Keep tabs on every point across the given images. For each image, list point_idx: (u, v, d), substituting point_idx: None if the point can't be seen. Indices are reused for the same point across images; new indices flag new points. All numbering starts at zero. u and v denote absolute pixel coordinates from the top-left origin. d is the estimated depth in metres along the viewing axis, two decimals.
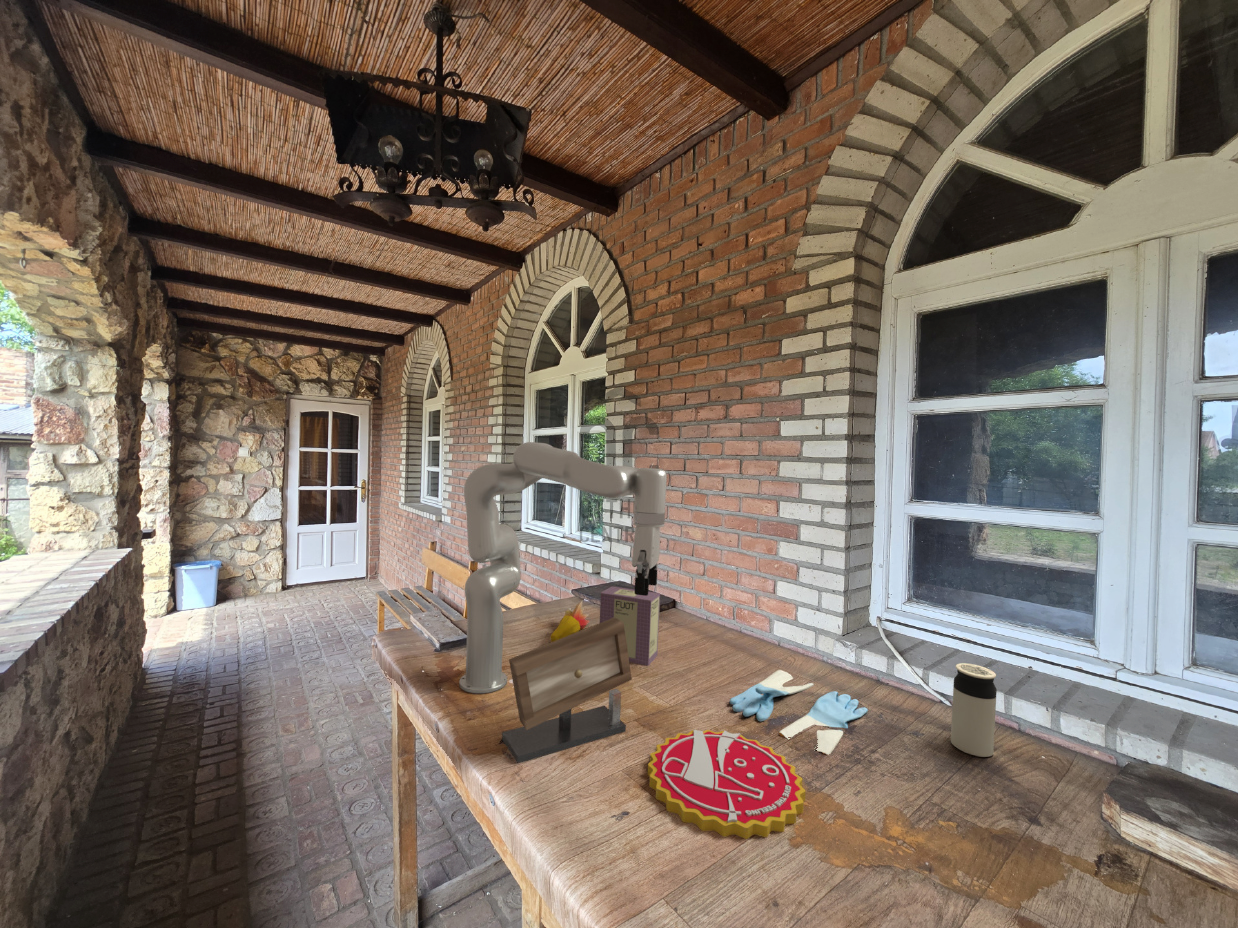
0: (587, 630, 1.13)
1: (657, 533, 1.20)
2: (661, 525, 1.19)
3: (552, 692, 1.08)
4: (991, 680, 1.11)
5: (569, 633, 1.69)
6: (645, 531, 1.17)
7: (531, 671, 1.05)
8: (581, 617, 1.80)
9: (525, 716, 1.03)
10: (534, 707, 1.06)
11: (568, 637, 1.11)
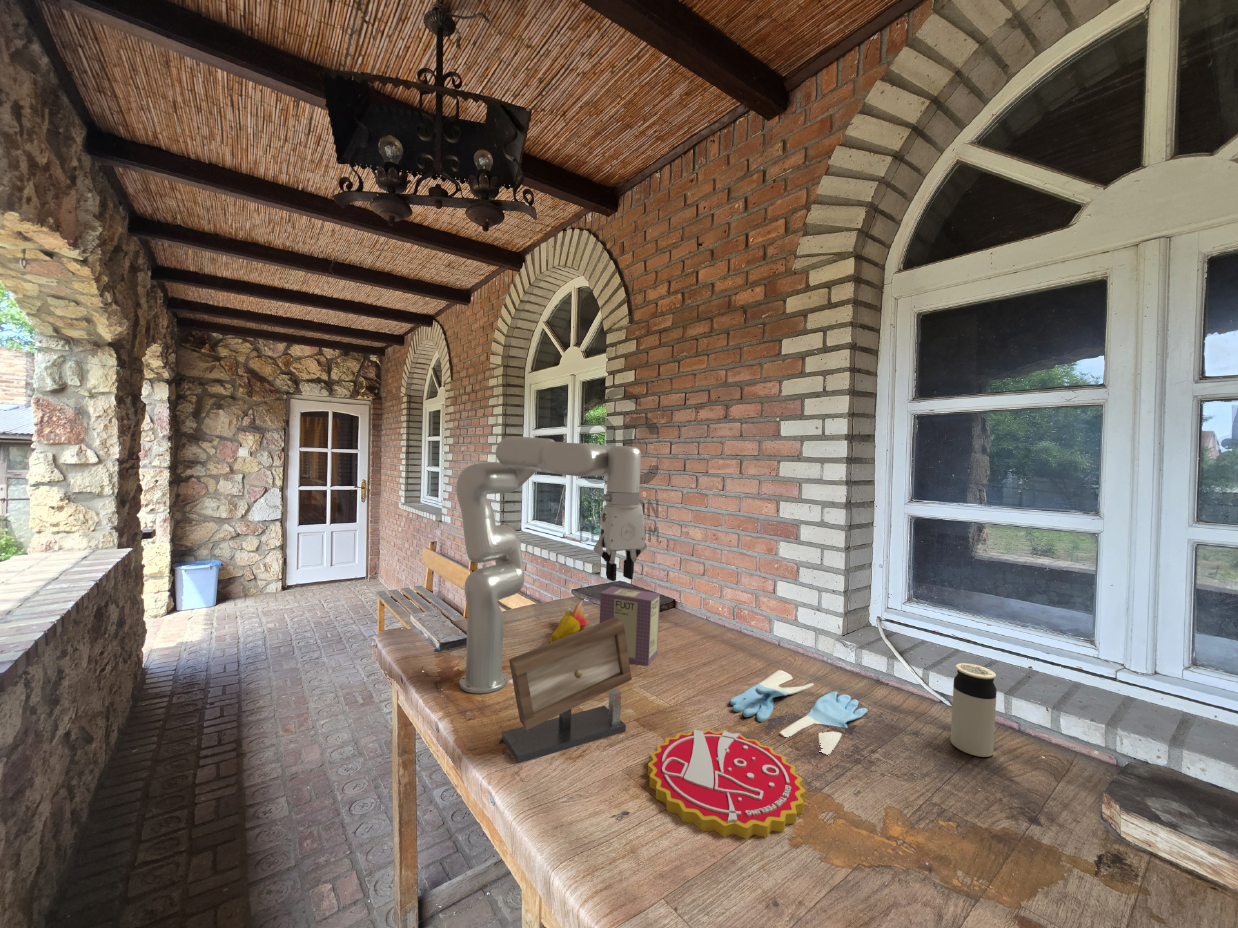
0: (587, 630, 1.13)
1: None
2: None
3: (552, 692, 1.08)
4: (991, 680, 1.11)
5: (569, 633, 1.69)
6: None
7: (531, 671, 1.05)
8: (581, 617, 1.80)
9: (525, 716, 1.03)
10: (534, 707, 1.06)
11: (568, 637, 1.11)
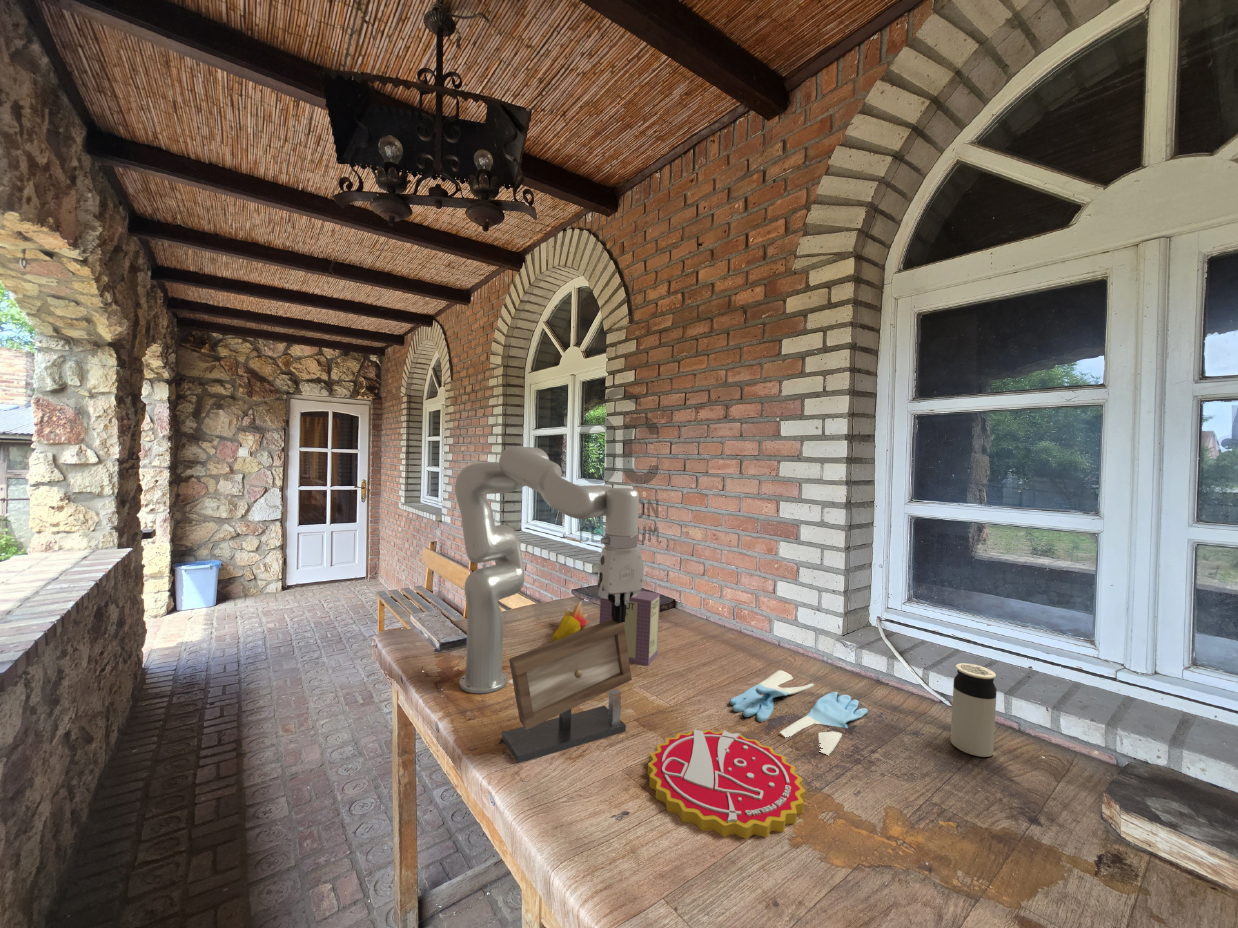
0: (587, 630, 1.13)
1: None
2: None
3: (552, 691, 1.08)
4: (991, 680, 1.11)
5: (570, 633, 1.69)
6: None
7: (531, 671, 1.05)
8: (581, 617, 1.80)
9: (525, 716, 1.03)
10: (534, 707, 1.06)
11: (568, 637, 1.11)
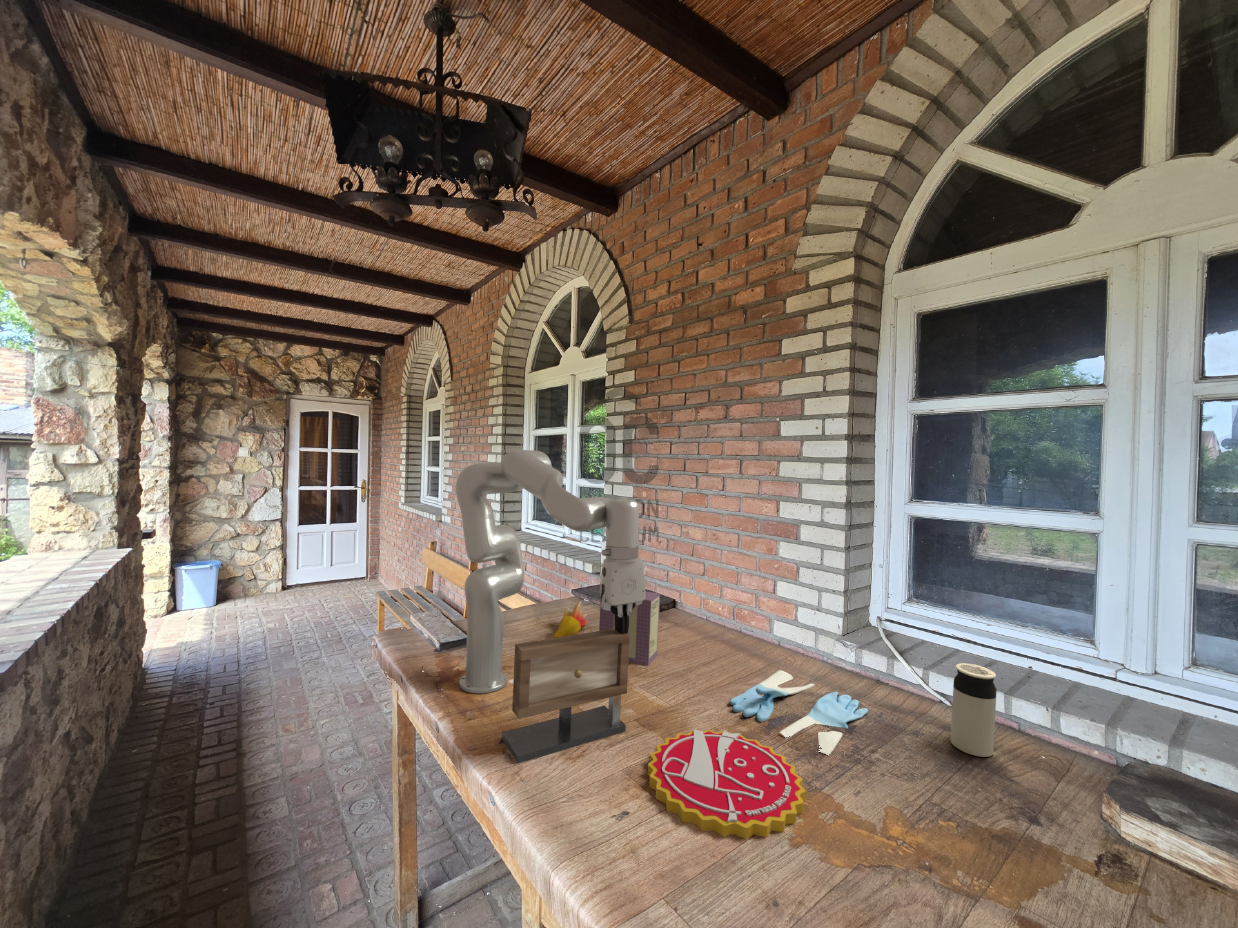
0: (593, 633, 1.14)
1: None
2: None
3: (549, 687, 1.07)
4: (991, 680, 1.11)
5: (571, 633, 1.69)
6: None
7: (534, 660, 1.05)
8: (580, 617, 1.80)
9: (520, 704, 1.02)
10: (529, 698, 1.05)
11: (574, 636, 1.12)
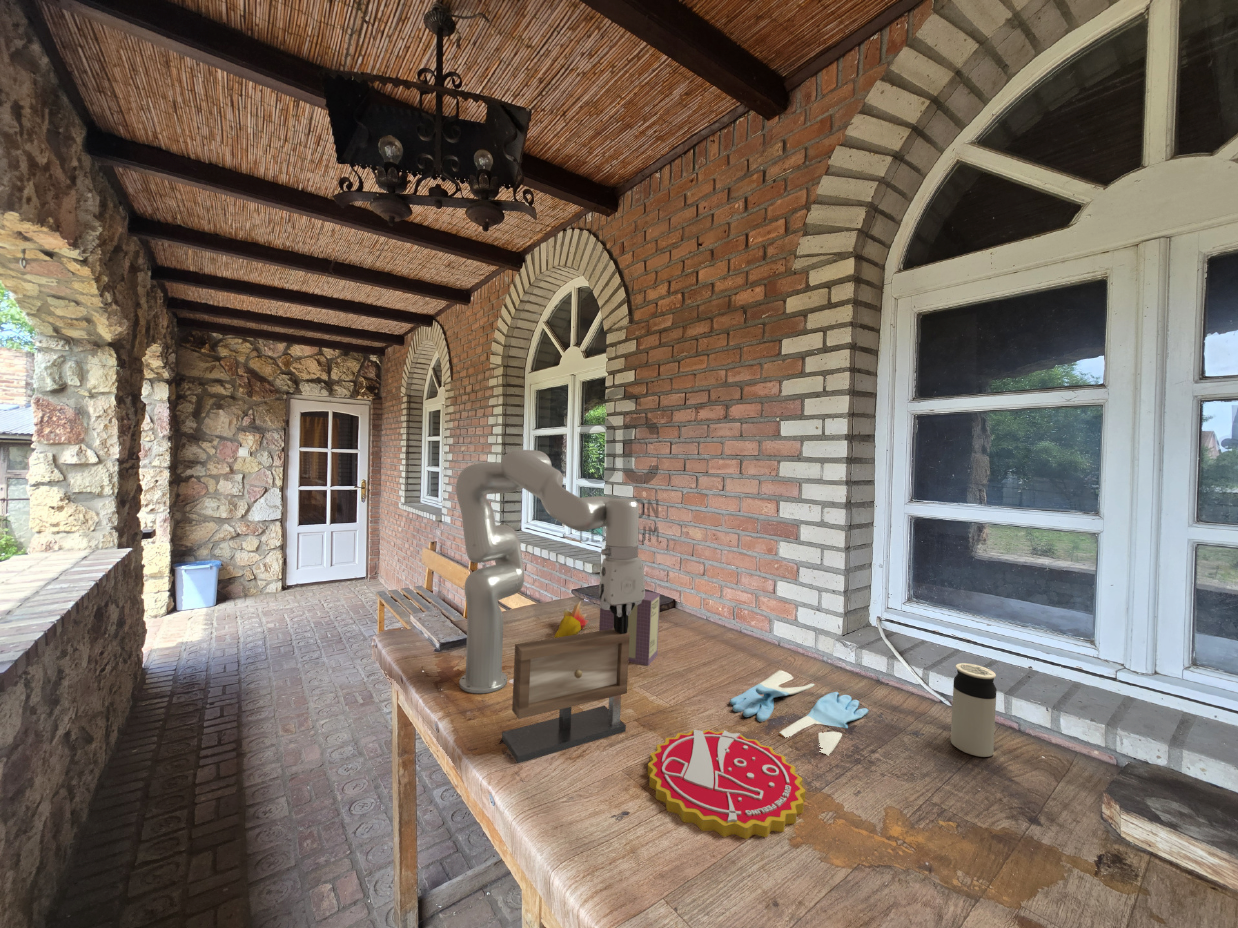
0: (593, 633, 1.14)
1: None
2: None
3: (549, 687, 1.07)
4: (991, 680, 1.11)
5: (571, 633, 1.69)
6: None
7: (534, 660, 1.05)
8: (580, 617, 1.80)
9: (520, 704, 1.02)
10: (529, 698, 1.05)
11: (574, 636, 1.12)
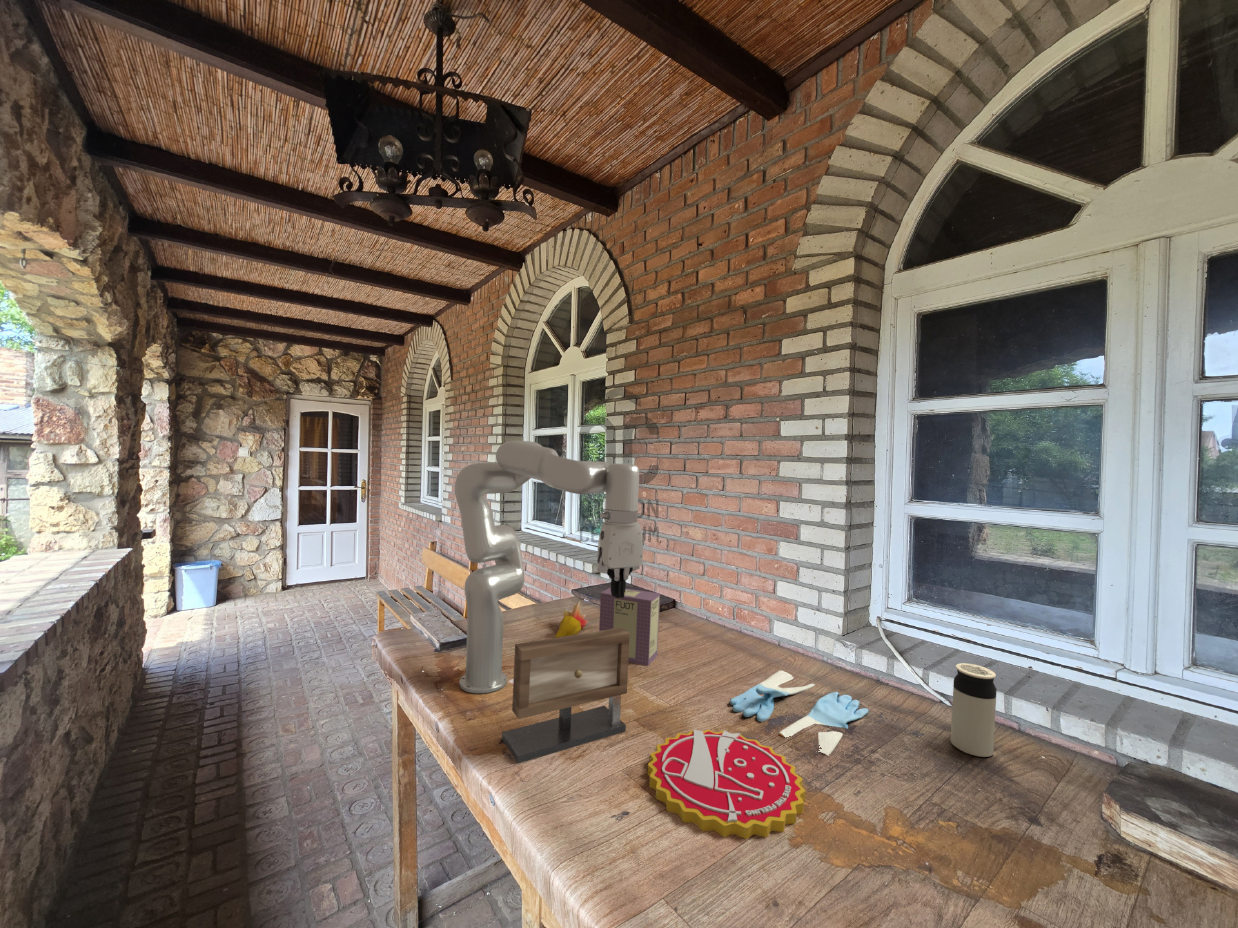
0: (593, 633, 1.14)
1: None
2: None
3: (549, 687, 1.07)
4: (991, 680, 1.11)
5: (572, 634, 1.69)
6: None
7: (534, 660, 1.05)
8: (580, 617, 1.80)
9: (520, 704, 1.02)
10: (529, 698, 1.05)
11: (574, 636, 1.12)
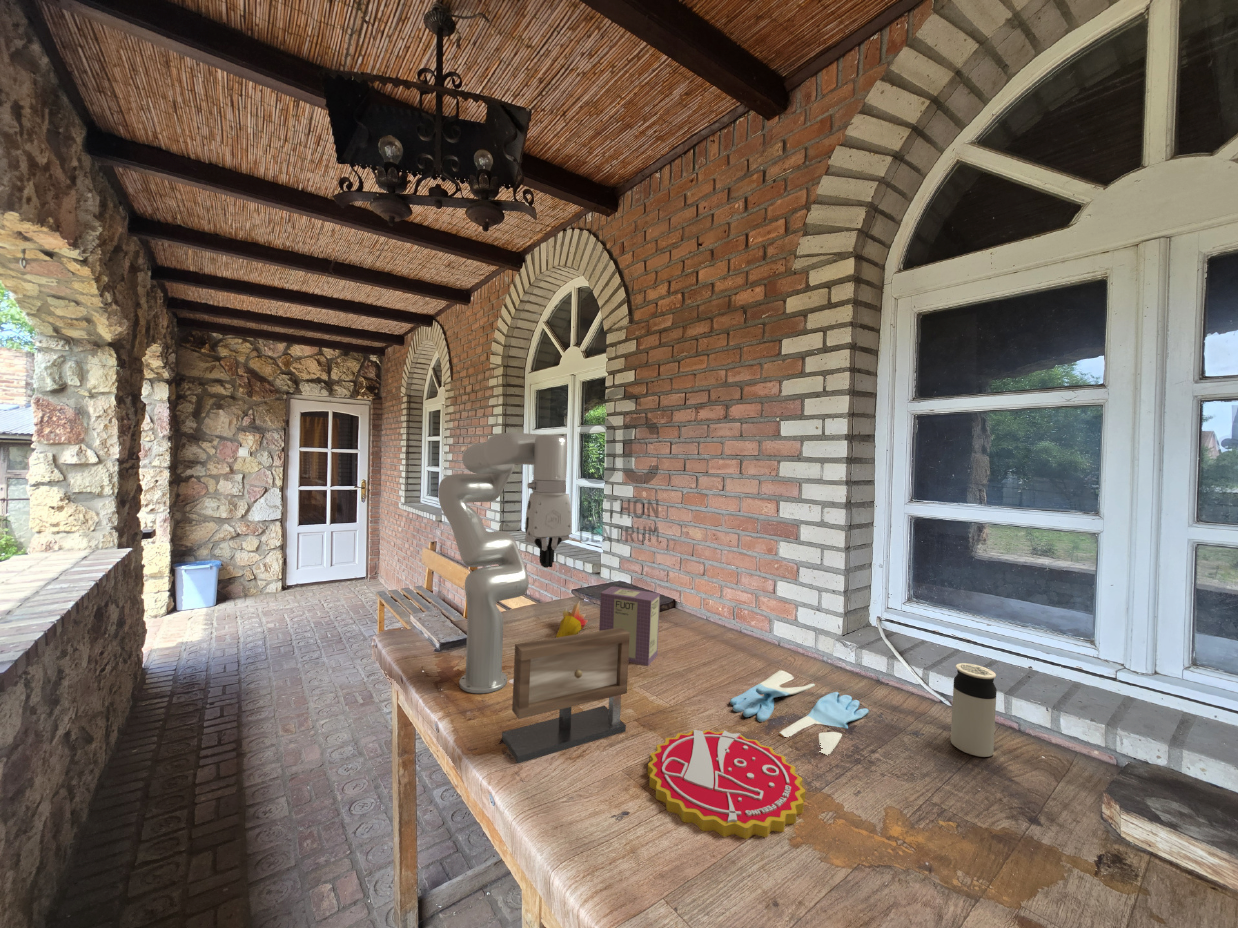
0: (593, 633, 1.14)
1: None
2: None
3: (549, 687, 1.07)
4: (991, 680, 1.11)
5: (572, 633, 1.69)
6: None
7: (534, 660, 1.05)
8: (580, 617, 1.80)
9: (520, 704, 1.02)
10: (529, 698, 1.05)
11: (574, 636, 1.12)
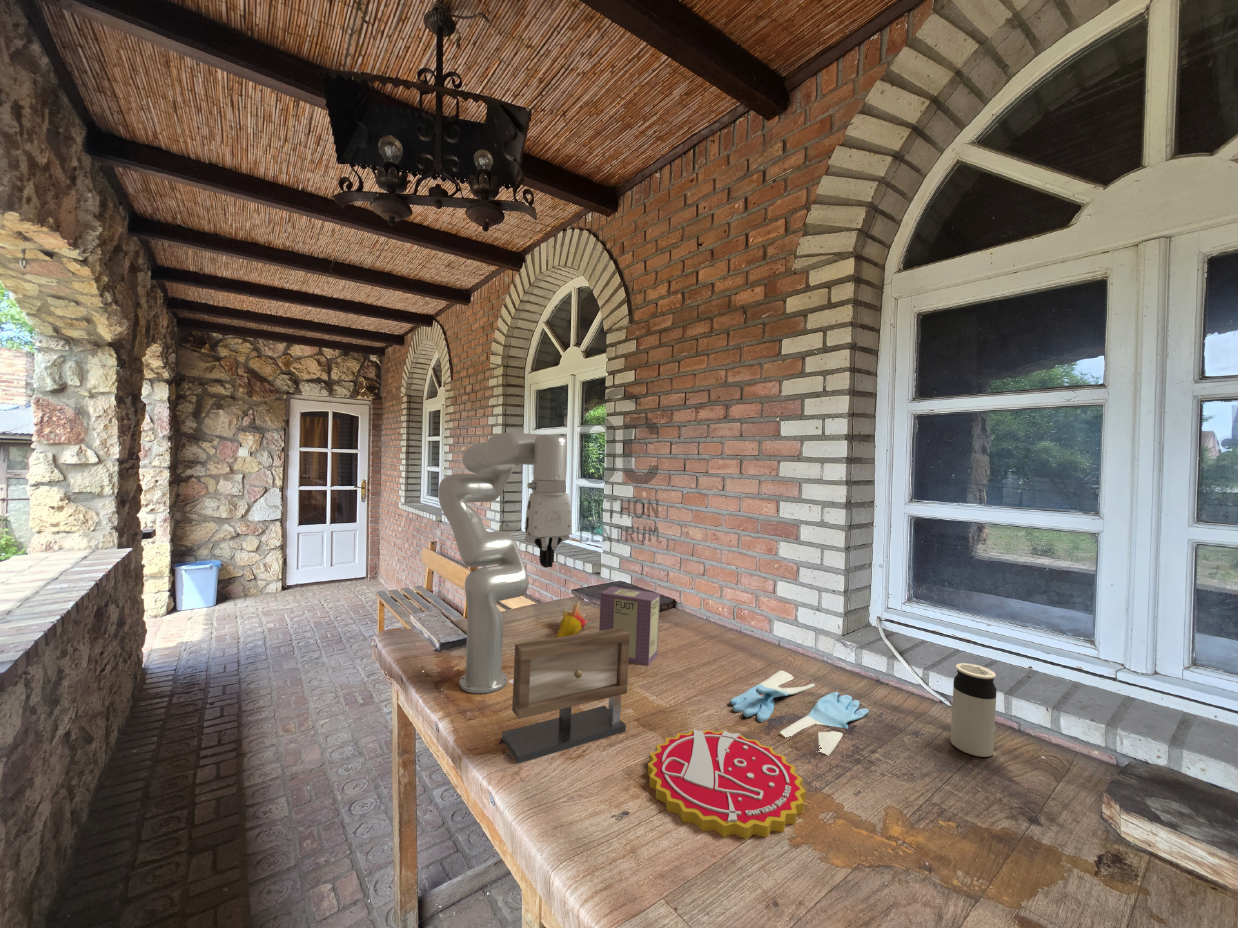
0: (593, 633, 1.14)
1: None
2: None
3: (549, 687, 1.07)
4: (991, 680, 1.11)
5: (573, 633, 1.69)
6: None
7: (534, 660, 1.05)
8: (580, 617, 1.80)
9: (520, 704, 1.02)
10: (529, 698, 1.05)
11: (574, 636, 1.12)
